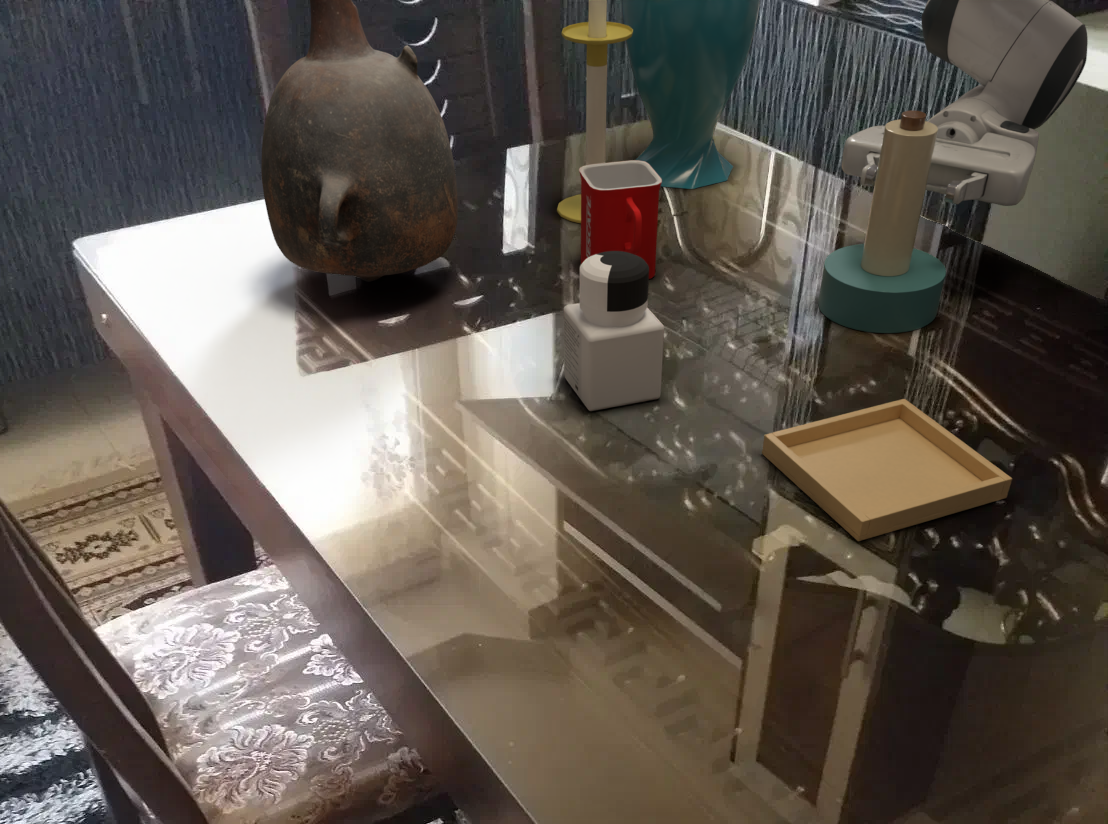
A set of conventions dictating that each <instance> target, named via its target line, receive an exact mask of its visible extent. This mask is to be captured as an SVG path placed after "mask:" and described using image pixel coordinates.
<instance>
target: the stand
mask: <svg viewBox="0 0 1108 824" xmlns="http://www.w3.org/2000/svg"><path fill="white" fill-rule="evenodd" d="M863 248H864V243H857V244H851V245H848V246H843V247H841V248H838V249H835V250H834V251H832V252H831V253H829V254H828V255H827V256H826V258H825V259H824V263H823V268H822V274H821V275H822V276H821V282H820V287H819V296H818V301H817V302H818V303H817V305H818V309H819V310H820V312H821V313H822V314H823V316H824V317H826V318H827V319H829V320H830V321H832V322H834V323H835V324H838V325H841V326H842V327H846V328H848V329H853V330H856V331H861V332H867V333H873V334H875V333H876V334H898V333H906V332H912V331H916V330H919V329H921V328H924V327H926V326H927V325H930V324H931V323H932V322H933V321H934V320H935V319H936V317H937V315H938V310H939V305H940V302H941V297H942V292H943V289H944V286H945V285H944V284H945V280H946V276H947V268H946V266H945V264H944V263H943V262H942V261H941V260H940V259H939V258H937V257H936V256H934V255H933V254H930V253H929V252H926V251H925V250H924V251H923V250H922V249H918V248H915V247H914V248H913V253H912V258H911V263H910V268H909V270H908V271H907V272H906V273H905V274H902V275H898V276H879V275H874V274H871V273H868V272H866V271H865V270H863V269H862V267H861V259H862V254H863Z"/></svg>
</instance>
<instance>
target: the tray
mask: <svg viewBox="0 0 1108 824" xmlns="http://www.w3.org/2000/svg"><path fill="white" fill-rule="evenodd" d="M762 443H763V444H762V450H761V454H762V455H763V456H764V457H765V458H766V459H767V460H768V461H769V462H770V463H772V464H773V465H774V466H775V467H776V468H777V469H778V470H779V471H780V472H781V473H782V474H784V475H785V476H786V477H787V478H788V479H789V480H790V481H791V482H792V483H793V484H795V485H796V486H797V488H799V489H800V490H801V491H802V492H803V493H804V494H805V495H806V496H807V497H809V498H810V499H811V500H812V501H813V502H814V503H815V504H816V505H817V506H818V507H819V508H821V509H822V510H823V511H824V512H825V513H827V515H828V516H829V517H831V519H833V520H834V521H835V522H836V523H838V525H839V526H840V527H842V528H843V529H844V530H845V531H846V532H847V533H848V534H849V535H850V536H851V537H852V538H854V539H855V540H856V541H857V542H861V541H865V540H868V539H872V538H874V537H878V536H882V535H885V534H888V533H892V532H895V531H899V530H902V529H905V528H909V527H912V526H915V525H916V526H917V525H919V524H922V523H925V522H929V521H932V520H936V519H940V518H942V517H945V516H946V517H947V516H949V515H953V514H956V513H960V512H964V511H967V510H969V509H973V508H977V507H980V506H984V505H987V504H990V503H994V502H997V501H1000V500H1004V499H1007V497H1008V495H1009V491H1010V489H1011V488H1010V487H1011V484H1012V481H1013V478H1012V477H1011V476H1010V475H1008V474H1007V473H1006V472H1004V471H1003V470H1002V469H1000V468H999V467H997V466H996V465H995V464H993V463H992V462H991V461H990V460H988V459H987V458H985V457H984V456H982V455H981V454H980V453H979V452H978V451H976V450H975V449H973V448H972V447H971V446H969V445H968V444H966V443H965V442H964V441H963V440H961V439H960V438H959V437H957V436H956V435H954V434H953V433H951V432H950V431H949V430H948V429H947V428H945V427H944V426H942V425H941V424H940V423H938V422H937V421H935V420H934V419H933V418H931V417H930V416H929V415H927V414H926V413H925V412H923V411H922V410H921V409H919V408H918V407H917V406H915V405H914V404H912V403H911V402H910V401H909V400H908V399H906V398H902V399H898V400H893V401H889V402H885V403H882V404H878V405H874V406H871V407H865V408H863V409H859V410H854V411H851V412H847V413H843V414H839V415H835V416H831V417H828V418H823V419H820V420H816V421H811V422H809V423H804V424H801V425H796V426H791V427H789V428H785V429H781V430H776V431H773V432H769V433H766V434H764V435H763V442H762Z"/></svg>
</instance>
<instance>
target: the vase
mask: <svg viewBox="0 0 1108 824" xmlns="http://www.w3.org/2000/svg"><path fill="white" fill-rule="evenodd" d="M760 6H761V0H621V11H622V24H624V25H627V26H629V27H631V28H632V29H633V34H632V37H631V38H629V39H627V40H625V44H626V50H627V54H628V60H629V63H630V67H631V71H632V75H633V78H634V82H635V85H636V88H637V91H638V94H639V97H640V99H641V102H642V105H643V107H644V110H645V112H646V115H647V117H648V120H649V123H650V126H651V131H652V139H651V141H650V142H649V144H648V146H646V148H645V149H644V150H643V151H642V152H641V153H640V155H638V156H637V157H636V158H635V159H634V160H639V161H644V162H647V163H648V164H650V166H651V167H652V168H653V169H654V170H655V172H656V173H657V174H658V175H659V177H660V178H661V179H662V183H661V186H660V187H662V188H664V187H665V188H674V189H675V188H677V189H687V190H694V189H699V188H701V187H706V186H710V185H714V184H719V183H722V182H726V181H728V180H729V177H730V175H731V172H732V170H733V168H734V165H733V164H732V163H730V161H729V160H728V159H727V158H726V157H724V156H723V155H722V154H721V153H720V152H719V151H718V150H717V146H716V144H715V143H716V142H715V139H714V133H715V130H716V127H717V124H718V123H719V121H720V118H721V116H722V114H723V112H724V110H725V108H726V107H727V104H728V102H729V100H730V98H731V95H732V94H733V91H734V89H735V87H736V85H737V84H738V81H739V80H740V76H741V74H742V73H743V70H744V68H745V64H746V62H747V59H748V56H749V53H750V49H751V47H752V43H753V40H754V36H755V33H756V27H757V24H758V18H759V13H760Z"/></svg>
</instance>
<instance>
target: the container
mask: <svg viewBox="0 0 1108 824" xmlns="http://www.w3.org/2000/svg"><path fill="white" fill-rule="evenodd" d="M649 281H650V279H649V266H648V264H647V263H646V262H645V260H644V259H642V258H641V257H639V256H637V255H634V254H631V253H628V252H623V251H606V252H601V253H598V254H595V255H592V256H590V257H588V258H587V259H585V260H584V262H583V263H582V264H581V263H580V265H579V302H578V303H571V304H566V305H565V306H564V307H563V364H564V366H563V369H564V370H563V371H564V372H563V375H564V379H565V380H566V381H567V383H568V384H569V385H570V387H571V388H572V390H573V391H574V393H575V394H576V395H577V397H578V398H579V399H580V401H581V402H582V404H583V405H584V406H585V408H586V409H587V410H588V411H589V412H595V411H601V410H606V409H610V408H616V407H622V406H628V405H633V404H639V403H642V402H649V401H653V400H658V399H660V397H661V392H662V378H663V377H662V375H663V355H664V341H665V340H664V338H665V326H664V324H663V323H662V322H661V321H660V320H659V319H658V318H657V316H656V315H655V314H654V313H653V312H652V311H651V309H649V307H648V305H649Z"/></svg>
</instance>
